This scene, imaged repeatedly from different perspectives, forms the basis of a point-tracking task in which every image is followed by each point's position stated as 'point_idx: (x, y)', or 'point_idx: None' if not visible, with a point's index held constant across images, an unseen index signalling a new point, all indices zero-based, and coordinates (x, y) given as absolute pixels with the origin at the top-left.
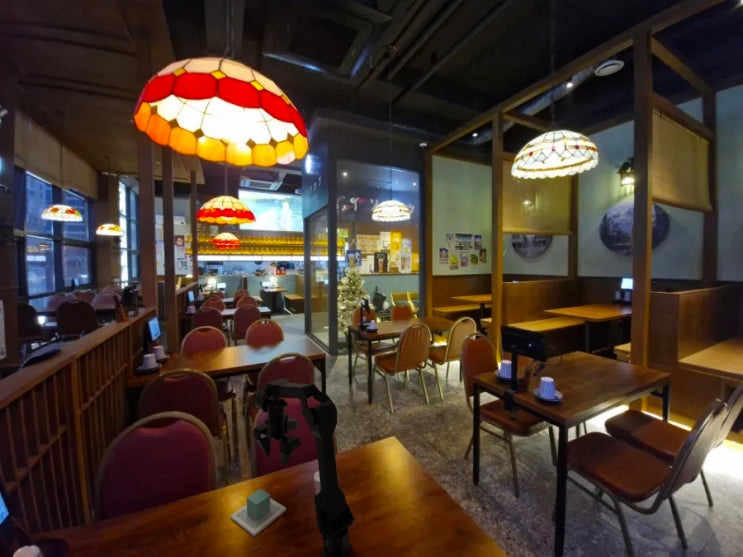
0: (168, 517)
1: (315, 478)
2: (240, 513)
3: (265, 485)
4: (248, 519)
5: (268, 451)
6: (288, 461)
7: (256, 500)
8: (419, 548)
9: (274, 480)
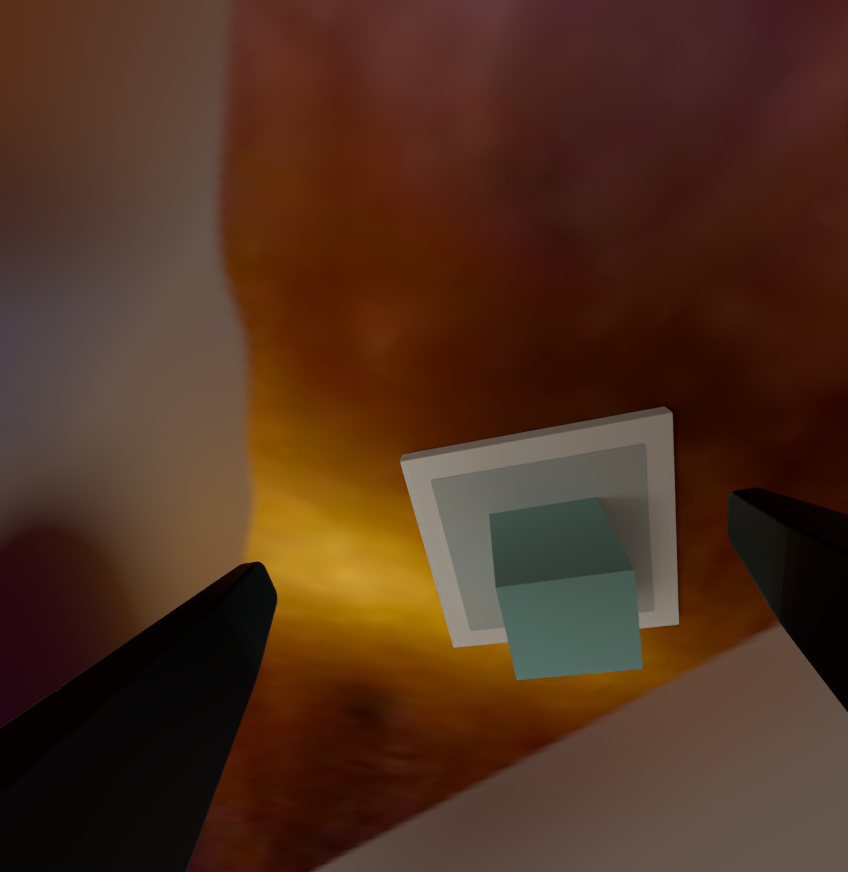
0: (263, 764)
1: None
2: (478, 614)
3: (313, 394)
4: None
5: (224, 650)
6: (838, 517)
7: (597, 652)
8: None
9: (298, 315)
